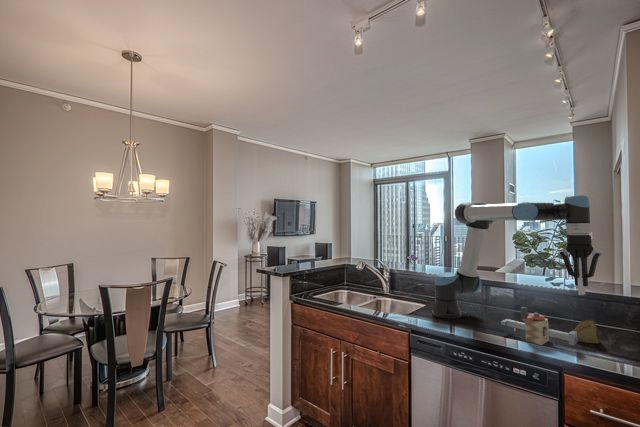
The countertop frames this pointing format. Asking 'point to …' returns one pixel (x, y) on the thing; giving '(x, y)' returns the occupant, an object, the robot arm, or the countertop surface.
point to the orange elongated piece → (530, 315)
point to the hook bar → (545, 331)
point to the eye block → (536, 331)
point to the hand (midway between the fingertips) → (581, 294)
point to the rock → (587, 332)
